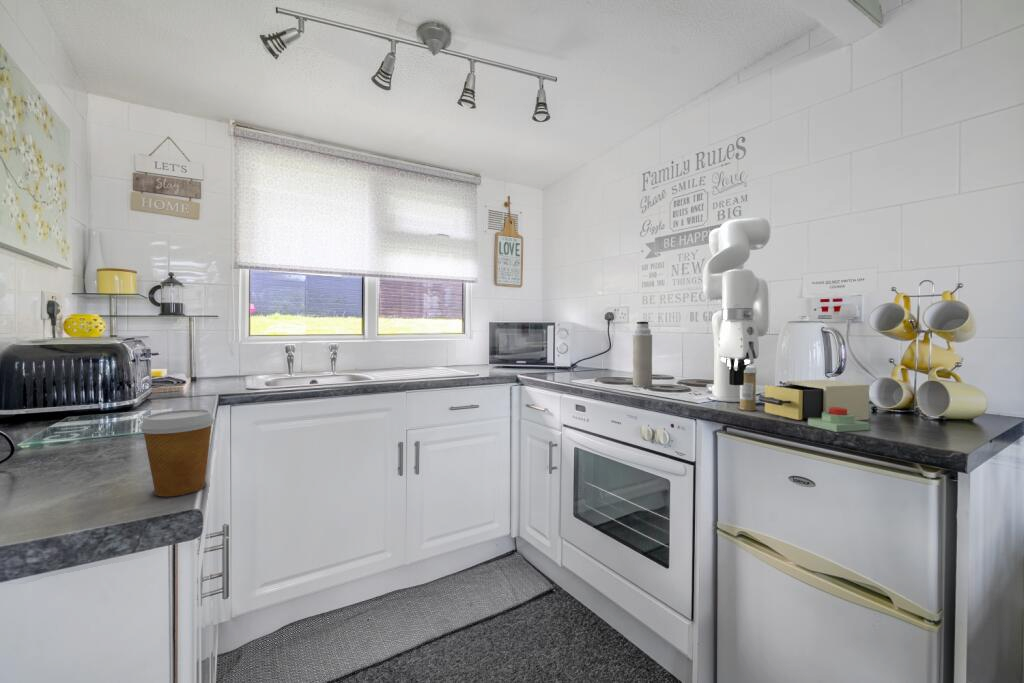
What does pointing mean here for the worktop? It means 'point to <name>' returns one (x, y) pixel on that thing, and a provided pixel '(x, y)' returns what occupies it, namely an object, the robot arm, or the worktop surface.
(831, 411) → the button
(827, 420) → the control block
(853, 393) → the drawer cabinet
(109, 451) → the worktop surface
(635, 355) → the thermos bottle
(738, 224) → the robot arm
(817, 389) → the yellow drawer
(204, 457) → the disposable coffee cup
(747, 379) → the sprinkles bottle
